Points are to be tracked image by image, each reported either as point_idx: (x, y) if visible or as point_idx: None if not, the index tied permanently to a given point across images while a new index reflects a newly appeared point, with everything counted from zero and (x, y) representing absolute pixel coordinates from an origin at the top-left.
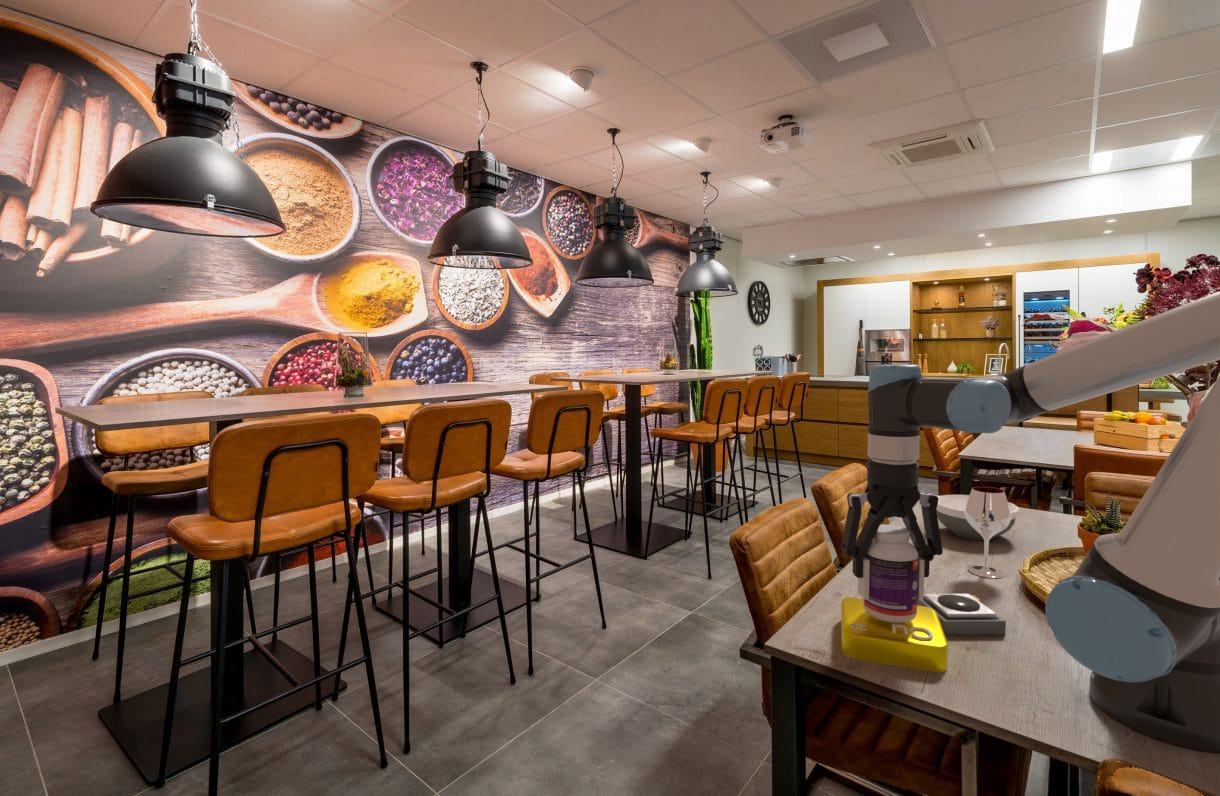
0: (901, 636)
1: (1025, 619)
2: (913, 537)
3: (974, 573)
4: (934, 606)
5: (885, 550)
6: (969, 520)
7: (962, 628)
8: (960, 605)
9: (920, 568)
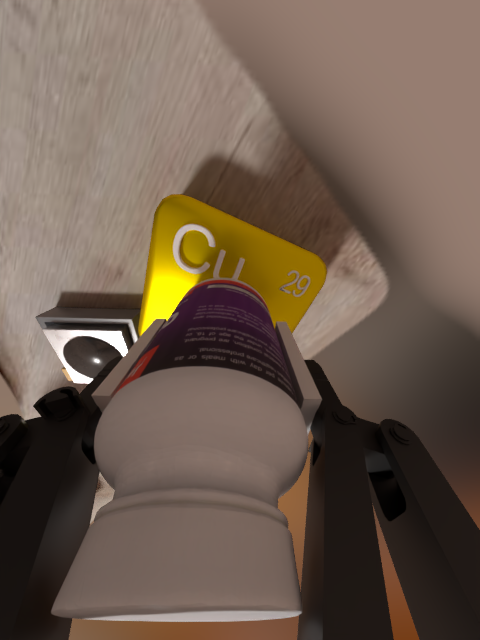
0: (235, 244)
1: (21, 343)
2: (64, 530)
3: None
4: None
5: (267, 435)
6: None
7: (111, 313)
8: (93, 352)
9: (124, 370)
